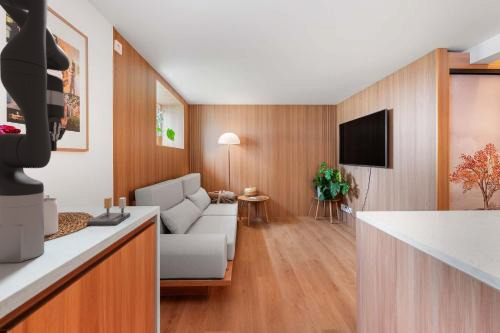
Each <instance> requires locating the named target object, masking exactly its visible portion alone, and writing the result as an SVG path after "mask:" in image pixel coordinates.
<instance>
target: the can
mask: <svg viewBox="0 0 500 333" xmlns="http://www.w3.org/2000/svg"><path fill="white" fill-rule="evenodd" d="M58 232H59V203H58V202H57V198H54V197H53V198H52V197H51V198H50V197H49V198H44V237H47V236H46V235H48V236H53V235H55V234H57V233H58ZM52 234H53V235H52Z"/></svg>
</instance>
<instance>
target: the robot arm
mask: <svg viewBox="0 0 500 333" xmlns="http://www.w3.org/2000/svg"><path fill="white" fill-rule="evenodd" d="M48 5H49V0H0V7H1V8H2V9H3V10H4V12H6V14H7V15H8V16H9V18H11V20H12V21H13V22H14V23H15V24H16V25H17V26H18V27H19V31H18V32H17V33H16V34H15V35H14V36H13V37H12V38H11V39H10V40H9V41H8V42H7V43H6V44H5V45H4V47H3V48H2V50H1V51H0V82H1V84H2V86H3V88H4V89H5V91H6V92H7V93H8V95H9V97H10V98H11V100H12V101H13V102H14V103H15V104H16V106H17V108H18V109H19V110H20V111H21V113H22V116H23V120H24V124H25V125H24V126H25V133H9V132H8V133H1V134H0V264H2V263H5V264H6V263H22V262H25V261H28V260H32V259H34V258H37V257H39V256H42V255H43V254H44V252H45V236H44V199H45V193H44V192H45V185H44V183H43V182H42V181H41V180H37V179H34V178H32V177H30V176H29V175H27V174H26V173H25V171H24V169H42V168H44V167H47V166H48V164H49V163H50V160H51V157H52V152H56V151H58V150H57V149H58V148H57V145H58V141H61V140H62V138H63V136H64V135H65V133H66V131H67V129H66V127H63V126H62V125H63V123H62V120H63V119H64V118H65V113H66V112H65V95H64V94H65V93H64V91H65V90H64V86H65V85H64V80H63V78H61V77H59V76H56V75H53V74H50V73H48V71H58V72H66V71H67V70H69V68H70V59H69V57H68V55H67V53H66V52H65V51H64V50H63V49H62V48H61V46H59V45H58V43H57V42H56V39H55V37H54V35H53V33H52V31H51V30H50V28H49V27H48V26H47V23H48V21H47V20H48V10H49V9H48V7H49V6H48Z"/></svg>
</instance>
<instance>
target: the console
mask: <svg viewBox="0 0 500 333" xmlns="http://www.w3.org/2000/svg"><path fill="white" fill-rule="evenodd" d="M129 217H131V212H124V213H121V212H109V213H108V214H107V212H104V213H101V214H100V215H97V216H95V217H94V218H91V219H90V220H87V221H86V226H117V225H118V224H120V223H122V222H123V221H125V220H127V219H128V218H129Z"/></svg>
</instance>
